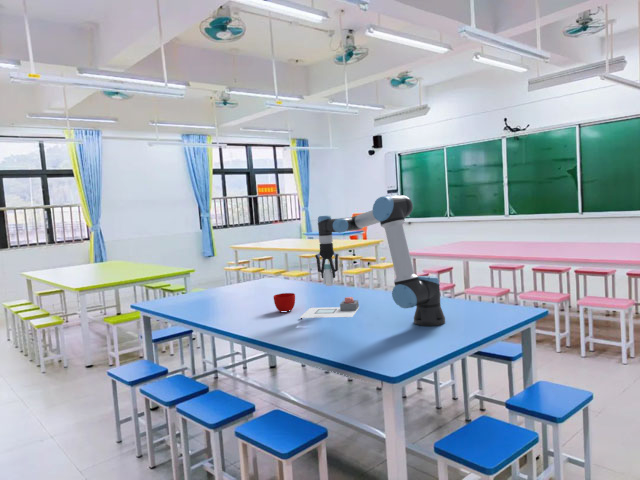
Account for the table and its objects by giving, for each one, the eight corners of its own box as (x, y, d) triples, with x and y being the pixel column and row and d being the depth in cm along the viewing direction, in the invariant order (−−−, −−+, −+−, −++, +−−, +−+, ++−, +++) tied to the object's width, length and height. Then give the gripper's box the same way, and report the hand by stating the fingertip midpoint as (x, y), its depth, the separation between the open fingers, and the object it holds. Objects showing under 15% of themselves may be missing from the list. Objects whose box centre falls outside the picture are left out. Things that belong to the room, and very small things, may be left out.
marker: (331, 285, 260) (330, 264, 259) (324, 286, 261) (323, 265, 260) (333, 284, 264) (331, 263, 263) (326, 284, 265) (324, 263, 264)
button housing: (356, 310, 261) (355, 303, 260) (340, 310, 263) (340, 303, 263) (358, 306, 269) (358, 300, 269) (343, 307, 272) (343, 300, 271)
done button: (353, 306, 263) (352, 298, 263) (344, 306, 264) (343, 298, 264) (354, 304, 268) (353, 296, 267) (346, 304, 269) (345, 297, 269)
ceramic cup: (298, 307, 288) (297, 291, 287) (294, 313, 271) (293, 296, 270) (278, 308, 289) (276, 292, 288) (272, 314, 272) (271, 297, 271)
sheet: (352, 319, 247) (352, 316, 246) (299, 319, 254) (298, 317, 254) (359, 308, 270) (359, 306, 270) (310, 309, 277) (310, 307, 277)
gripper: (342, 241, 262) (344, 282, 264) (313, 243, 266) (316, 283, 268) (339, 242, 255) (342, 284, 257) (309, 244, 259) (312, 285, 261)
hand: (328, 283), depth 262 cm, fingers closed on marker, 4 cm apart
